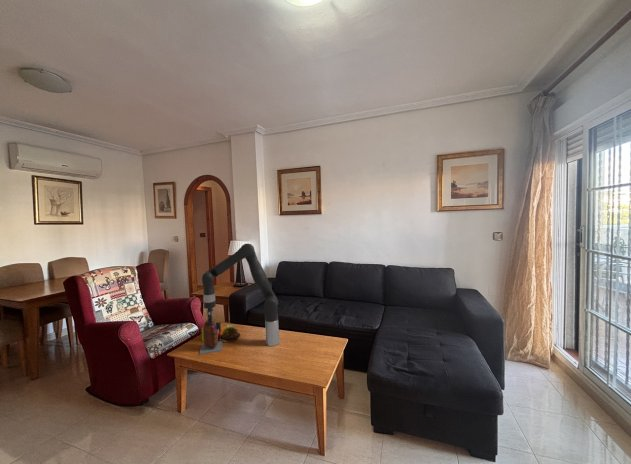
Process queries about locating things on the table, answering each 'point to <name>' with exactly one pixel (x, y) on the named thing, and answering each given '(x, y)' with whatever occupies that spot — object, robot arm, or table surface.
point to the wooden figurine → (210, 334)
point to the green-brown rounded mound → (229, 334)
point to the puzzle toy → (218, 327)
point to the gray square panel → (210, 348)
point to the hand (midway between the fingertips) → (210, 323)
